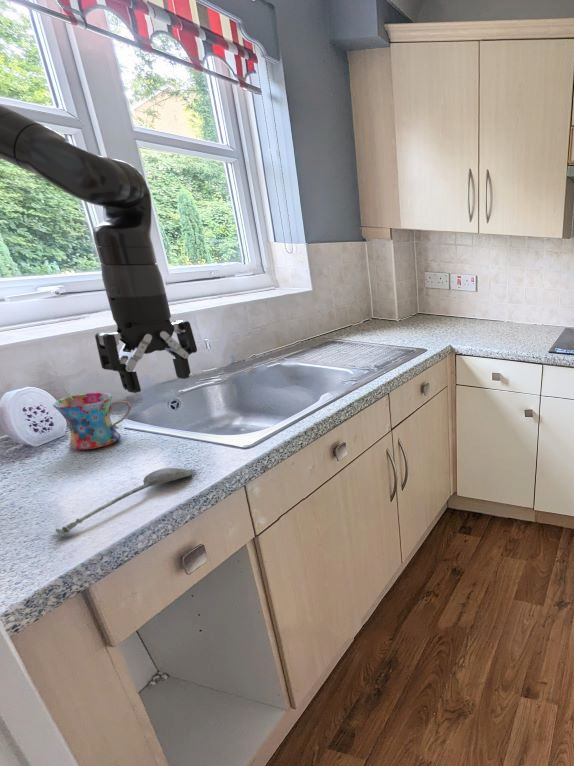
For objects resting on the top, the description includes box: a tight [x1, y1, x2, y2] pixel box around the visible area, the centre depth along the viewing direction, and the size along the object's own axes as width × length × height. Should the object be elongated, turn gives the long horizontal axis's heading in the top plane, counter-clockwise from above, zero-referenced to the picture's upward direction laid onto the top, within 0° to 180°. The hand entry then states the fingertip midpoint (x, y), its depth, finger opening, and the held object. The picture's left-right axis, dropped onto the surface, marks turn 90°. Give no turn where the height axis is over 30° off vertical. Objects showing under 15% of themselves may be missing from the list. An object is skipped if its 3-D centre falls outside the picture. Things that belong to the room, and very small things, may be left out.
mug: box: [52, 392, 132, 450], centre depth 101 cm, size 12×9×11 cm
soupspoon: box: [55, 467, 192, 538], centre depth 81 cm, size 22×3×7 cm
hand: (160, 384), depth 80 cm, fingers open, 8 cm apart
